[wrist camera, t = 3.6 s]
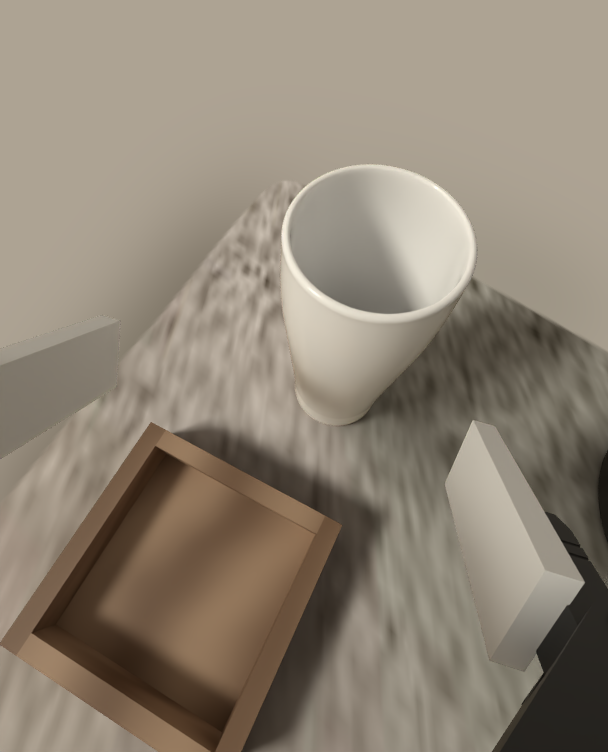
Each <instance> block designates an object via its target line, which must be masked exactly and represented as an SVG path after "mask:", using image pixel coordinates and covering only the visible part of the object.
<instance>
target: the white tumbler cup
mask: <svg viewBox="0 0 608 752" xmlns="http://www.w3.org/2000/svg"><path fill="white" fill-rule="evenodd" d="M476 262H477V241H476V236H475V232H474V229H473V226H472V224H471V221H470V219H469V218H468V216H467V214H466V212H465V211H464V209H463V208H462V207H461V205H460V204H459V203H458V202H457V201H456V200H455V199H454V198H453V197H452V195H450V194H449V193H448V192H447V191H446V190H445V189H443V188H442V187H441V186H439V185H438V184H436V183H435V182H433V181H431V180H430V179H428V178H426V177H424V176H422V175H419V174H417V173H414V172H412V171H409V170H406V169H402V168H398V167H394V166H388V165H377V164H364V165H354V166H348V167H344V168H339V169H336V170H333V171H331V172H328V173H326V174H324V175H322V176H320V177H318V178H316V179H315V180H313V181H312V182H310V183H309V184H308V185H307V186H305V187H304V188H303V189H302V190H301V191H300V192H299V193H298V194H297V196H296V197H295V198H294V200H293V201H292V203H291V204H290V206H289V208H288V210H287V212H286V215H285V218H284V221H283V226H282V234H281V256H280V289H281V304H282V312H283V319H284V325H285V330H286V335H287V340H288V345H289V350H290V355H291V361H292V366H293V371H294V377H295V393H296V397H297V400H298V402H299V404H300V406H301V407H302V409H303V410H304V411H305V412H306V413H307V414H308V415H309V416H310V417H311V418H313V419H314V420H316V421H318V422H320V423H323V424H326V425H331V426H342V425H347V424H351V423H353V422H355V421H357V420H359V419H360V418H362V417H363V416H364V415H365V414H366V413H367V412H368V411H369V409H370V408H371V407H372V405H373V403H374V402H375V401H376V400H377V399H378V398H379V397H380V396H381V395H382V394H383V393H384V391H385V390H386V389H387V388H388V387H389V386H390V385H391V384H392V383H393V382H394V381H395V380H396V379H397V378H398V377H399V376H400V375H401V374H402V373H403V372H404V371H405V370H406V369H407V368H408V367H409V366H410V365H411V364H412V363H413V362H414V361H415V360H416V359H417V358H418V357H419V355H420V354H421V353H422V352H423V351H424V350H425V348H426V347H427V346H428V345H429V344H430V342H431V341H432V340H433V339H434V337H435V336H436V335H437V333H438V332H439V330H440V329H441V327H442V326H443V324H444V323H445V322H446V320H447V319H448V317H449V315H450V314H451V312H452V311H453V309H454V308H455V306H456V304H457V303H458V301H459V299H460V297H461V296H462V294H463V292H464V290H465V289H466V287H467V286H468V284H469V282H470V280H471V278H472V276H473V273H474V270H475V267H476Z"/></svg>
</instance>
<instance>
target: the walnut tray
mask: <svg viewBox="0 0 608 752" xmlns="http://www.w3.org/2000/svg"><path fill="white" fill-rule="evenodd" d="M341 527H342V525H341V524H340V523H338V522H336V521H334V520H332V519H330V518H328V517H327V516H325V515H323V514H321V513H319V512H317V511H315V510H314V509H312V508H310V507H308V506H306V505H304V504H302V503H301V502H299V501H297V500H295V499H293V498H291V497H289V496H288V495H286V494H284V493H282V492H280V491H278V490H276V489H275V488H273V487H271V486H269V485H267V484H265V483H263V482H262V481H260V480H258V479H256V478H254V477H252V476H250V475H249V474H247V473H245V472H243V471H241V470H239V469H237V468H235V467H234V466H232V465H230V464H228V463H226V462H224V461H222V460H221V459H219V458H217V457H215V456H213V455H211V454H209V453H208V452H206V451H204V450H202V449H200V448H198V447H196V446H195V445H193V444H191V443H189V442H187V441H185V440H183V439H182V438H180V437H178V436H176V435H174V434H172V433H170V432H169V431H167V430H165V429H163V428H161V427H159V426H157V425H156V424H154V423H152V422H151V423H150V424H149V426H148V427H147V429H146V430H145V432H144V433H143V434H142V436H141V437H140V439H139V440H138V442H137V443H136V445H135V446H134V448H133V449H132V451H131V452H130V453H129V455H128V456H127V458H126V459H125V461H124V462H123V464H122V465H121V467H120V468H119V470H118V471H117V473H116V474H115V475H114V477H113V478H112V480H111V481H110V483H109V484H108V486H107V487H106V489H105V490H104V492H103V493H102V494H101V496H100V497H99V499H98V500H97V502H96V503H95V505H94V506H93V508H92V509H91V511H90V512H89V513H88V515H87V516H86V518H85V519H84V521H83V522H82V524H81V525H80V527H79V528H78V530H77V531H76V532H75V534H74V535H73V537H72V538H71V540H70V541H69V543H68V544H67V546H66V547H65V549H64V550H63V551H62V553H61V554H60V556H59V557H58V559H57V560H56V562H55V563H54V565H53V566H52V568H51V569H50V570H49V572H48V573H47V575H46V576H45V578H44V579H43V581H42V582H41V584H40V585H39V587H38V588H37V590H36V591H35V592H34V594H33V595H32V597H31V598H30V600H29V601H28V603H27V604H26V606H25V607H24V609H23V610H22V611H21V613H20V614H19V616H18V617H17V619H16V620H15V622H14V623H13V625H12V626H11V628H10V629H9V630H8V632H7V633H6V635H5V636H4V638H3V639H2V641H1V642H0V645H1V646H3V647H4V648H6V649H7V650H9V651H10V652H12V653H13V654H14V655H16V656H17V657H19V658H20V659H22V660H23V661H25V662H26V663H28V664H29V665H31V666H32V667H34V668H35V669H37V670H38V671H40V672H41V673H43V674H44V675H46V676H47V677H49V678H50V679H52V680H53V681H54V682H56V683H57V684H59V685H60V686H62V687H63V688H65V689H66V690H68V691H69V692H71V693H72V694H74V695H75V696H77V697H78V698H80V699H81V700H83V701H84V702H86V703H87V704H89V705H90V706H91V707H93V708H94V709H96V710H97V711H99V712H100V713H102V714H103V715H105V716H106V717H108V718H109V719H111V720H112V721H114V722H115V723H117V724H118V725H120V726H121V727H123V728H124V729H126V730H127V731H129V732H130V733H131V734H133V735H134V736H136V737H137V738H139V739H140V740H142V741H143V742H145V743H146V744H148V745H149V746H151V747H152V748H154V749H155V750H157V751H158V752H241V751H242V749H243V746H244V744H245V742H246V740H247V737H248V735H249V733H250V731H251V729H252V726H253V724H254V722H255V720H256V717H257V715H258V713H259V711H260V708H261V706H262V704H263V702H264V699H265V697H266V695H267V693H268V690H269V688H270V686H271V684H272V681H273V679H274V677H275V675H276V673H277V670H278V668H279V666H280V664H281V661H282V659H283V657H284V655H285V652H286V650H287V648H288V646H289V643H290V641H291V639H292V637H293V634H294V632H295V630H296V628H297V626H298V623H299V621H300V619H301V617H302V614H303V612H304V610H305V608H306V605H307V603H308V601H309V599H310V596H311V594H312V592H313V590H314V587H315V585H316V583H317V581H318V579H319V576H320V574H321V572H322V570H323V567H324V565H325V563H326V561H327V558H328V556H329V554H330V552H331V549H332V547H333V545H334V543H335V540H336V538H337V536H338V534H339V532H340V529H341Z"/></svg>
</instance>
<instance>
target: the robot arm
mask: <svg viewBox="0 0 608 752" xmlns="http://www.w3.org/2000/svg"><path fill="white" fill-rule="evenodd" d="M120 322H121V321H120V320H117V319H113V318H110V317H106V316H103V315H100V316H97V317H94V318H91V319H88V320H85V321H82V322H79V323H76V324H73V325H70V326H67V327H64V328H61V329H58V330H55V331H52V332H49V333H46V334H43V335H40V336H36V337H33V338H31V339H27V340H24V341H21V342H18V343H15V344H12V345H9V346H6V347H3V348H0V459H2V458H3V457H5V456H7V455H8V454H10V453H11V452H13V451H14V450H16V449H18V448H19V447H21V446H23V445H24V444H26V443H27V442H29V441H30V440H32V439H34V438H35V437H37V436H39V435H40V434H42V433H43V432H45V431H47V430H48V429H50V428H52V427H53V426H55V425H56V424H58V423H60V422H61V421H63V420H64V419H66V418H67V417H69V416H71V415H72V414H74V413H76V412H77V411H79V410H80V409H82V408H84V407H85V406H87V405H88V404H90V403H92V402H93V401H95V400H96V399H98V398H100V397H101V396H103V395H105V394H106V393H108V392H109V391H111V390H113V389H114V388H116V387H117V372H118V355H119V339H120ZM445 487H446V491H447V495H448V499H449V503H450V507H451V511H452V515H453V519H454V523H455V527H456V531H457V534H458V538H459V542H460V546H461V550H462V554H463V558H464V562H465V566H466V570H467V574H468V578H469V582H470V586H471V590H472V594H473V597H474V601H475V605H476V609H477V613H478V617H479V621H480V625H481V629H482V633H483V637H484V641H485V645H486V649H487V653H488V657H489V660H490V661H493V662H496V663H499V664H502V665H505V666H508V667H511V668H514V669H517V670H520V671H523V672H524V671H525V670H526V668H527V667H528V665H529V664H530V662H531V661H532V660H533V658H534V657H535V655H536V654H537V655H538V658H539V661H540V663H541V666H542V669H543V672H544V673H543V675H542V676H541V677H540V679H539V680H538V682H537V683H536V684H535V686H534V687H533V689H532V690H531V691H530V693H529V694H528V696H527V697H526V698H525V700H524V701H523V703H522V706H521V708H520V709H519V711H518V712H517V714H516V715H515V717H514V719H513V720H512V722H511V723H510V725H509V726H508V728H507V729H506V731H505V732H504V734H503V736H502V737H501V739H500V740H499V742H498V743H497V745H496V746H495V748H494V749H493V751H492V752H608V589H607V587H606V586H605V584H604V582H603V581H602V579H601V578H600V576H599V574H598V573H597V571H596V570H595V568H594V566H593V565H592V563H591V562H590V561H588V557H587V555H586V554H585V552H584V550H583V549H582V548H580V544H579V542H578V541H577V539H576V538H575V536H574V534H573V533H572V531H571V530H570V529H569V528H568V527H567V526H566V525H565V524H564V523H563V522H562V521H561V520H560V519H559V518H558V517H557V516H556V515H554V514H550V513H547V512H544V510H543V509H542V507H541V505H540V503H539V502H538V500H537V498H536V496H535V495H534V493H533V491H532V490H531V488H530V486H529V484H528V483H527V481H526V479H525V477H524V476H523V474H522V472H521V470H520V469H519V467H518V465H517V463H516V462H515V460H514V458H513V457H512V455H511V453H510V451H509V450H508V448H507V446H506V444H505V443H504V441H503V439H502V437H501V436H500V434H499V432H498V430H497V429H496V427H495V426H493V425H489V424H486V423H482V422H479V421H475V420H473V421H472V423H471V425H470V428H469V430H468V432H467V434H466V437H465V439H464V441H463V443H462V446H461V448H460V450H459V452H458V455H457V457H456V459H455V461H454V464H453V466H452V468H451V471H450V473H449V475H448V477H447V480H446V482H445ZM599 507H600V514H601V519H602V524H603V528H604V532H605V535H606V538H607V541H608V451H607V453H606V455H605V458H604V461H603V464H602V468H601V472H600V478H599Z"/></svg>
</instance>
